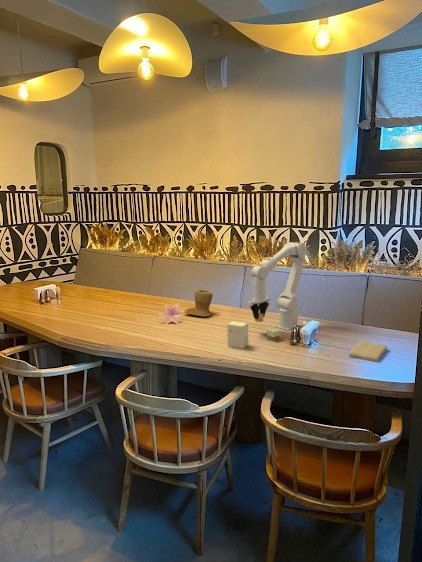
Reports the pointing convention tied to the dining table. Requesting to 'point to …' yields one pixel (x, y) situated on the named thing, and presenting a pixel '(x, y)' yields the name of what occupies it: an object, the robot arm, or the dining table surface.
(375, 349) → the washcloth
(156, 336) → the dining table surface
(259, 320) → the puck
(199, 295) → the brown boot
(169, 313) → the lily
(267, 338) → the tower base
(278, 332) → the tower top
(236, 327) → the small box
